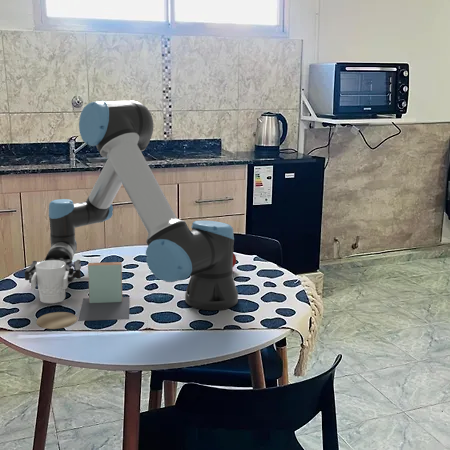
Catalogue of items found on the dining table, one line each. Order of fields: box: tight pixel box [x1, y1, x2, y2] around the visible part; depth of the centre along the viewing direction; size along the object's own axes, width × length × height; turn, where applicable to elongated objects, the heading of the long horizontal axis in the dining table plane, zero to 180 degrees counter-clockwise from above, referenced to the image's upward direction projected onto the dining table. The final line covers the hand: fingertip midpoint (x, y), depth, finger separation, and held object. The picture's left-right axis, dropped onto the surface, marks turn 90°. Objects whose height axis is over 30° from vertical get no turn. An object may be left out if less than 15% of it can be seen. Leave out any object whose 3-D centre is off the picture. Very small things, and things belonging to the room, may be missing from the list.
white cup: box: [35, 260, 66, 304], centre depth 160 cm, size 8×8×10 cm
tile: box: [87, 261, 123, 303], centre depth 164 cm, size 2×9×11 cm, turn 98°
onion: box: [233, 252, 237, 268], centre depth 194 cm, size 6×6×8 cm
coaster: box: [36, 311, 78, 330], centre depth 152 cm, size 10×10×1 cm
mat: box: [77, 296, 131, 322], centre depth 160 cm, size 16×13×1 cm
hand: (48, 284), depth 156 cm, fingers closed on white cup, 8 cm apart
